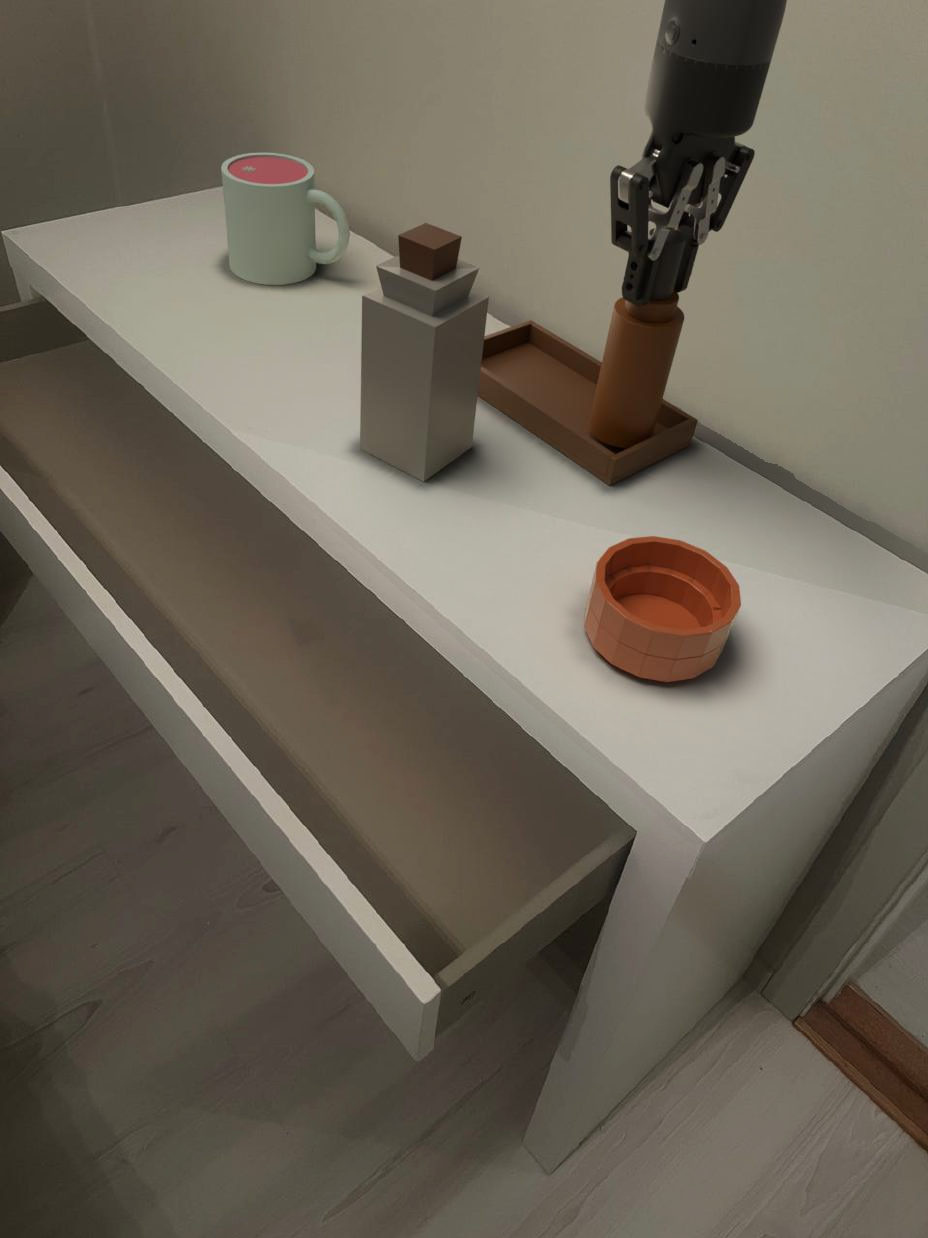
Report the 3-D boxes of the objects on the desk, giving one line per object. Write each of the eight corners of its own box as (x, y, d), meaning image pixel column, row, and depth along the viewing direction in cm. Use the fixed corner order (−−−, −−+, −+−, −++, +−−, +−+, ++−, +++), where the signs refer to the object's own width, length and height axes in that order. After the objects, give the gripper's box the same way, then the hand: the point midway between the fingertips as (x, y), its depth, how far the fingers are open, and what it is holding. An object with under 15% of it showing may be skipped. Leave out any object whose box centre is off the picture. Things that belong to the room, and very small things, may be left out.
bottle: (652, 417, 83) (703, 225, 71) (652, 452, 79) (706, 255, 67) (590, 407, 83) (630, 214, 71) (587, 442, 79) (629, 244, 67)
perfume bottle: (409, 416, 82) (421, 208, 69) (471, 446, 80) (495, 237, 67) (359, 448, 78) (363, 234, 65) (423, 481, 75) (439, 265, 63)
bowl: (715, 600, 68) (735, 548, 65) (722, 698, 61) (745, 646, 58) (586, 579, 69) (599, 526, 65) (579, 674, 62) (593, 620, 58)
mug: (212, 270, 98) (202, 172, 92) (259, 240, 105) (253, 145, 98) (327, 304, 96) (326, 204, 89) (368, 270, 102) (370, 175, 95)
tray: (690, 444, 83) (698, 419, 81) (609, 485, 77) (615, 459, 76) (527, 343, 93) (530, 319, 92) (445, 373, 88) (447, 348, 86)
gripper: (693, 70, 55) (630, 339, 67) (824, 47, 62) (746, 292, 74) (599, 37, 58) (556, 297, 70) (733, 18, 66) (673, 256, 78)
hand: (654, 293), depth 72 cm, fingers closed on bottle, 4 cm apart
